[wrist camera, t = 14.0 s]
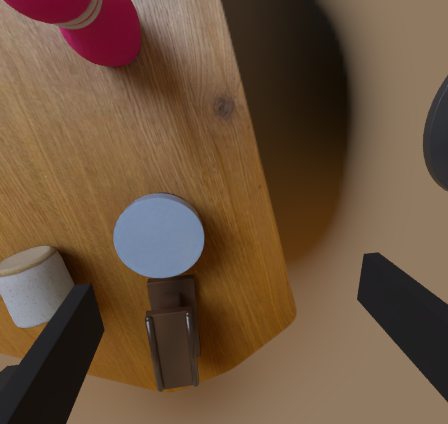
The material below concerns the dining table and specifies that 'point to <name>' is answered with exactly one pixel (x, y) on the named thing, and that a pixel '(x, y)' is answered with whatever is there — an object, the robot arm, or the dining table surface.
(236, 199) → the dining table surface
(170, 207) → the side plate
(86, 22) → the pepper mill
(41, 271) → the ceramic mug
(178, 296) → the plate rack
